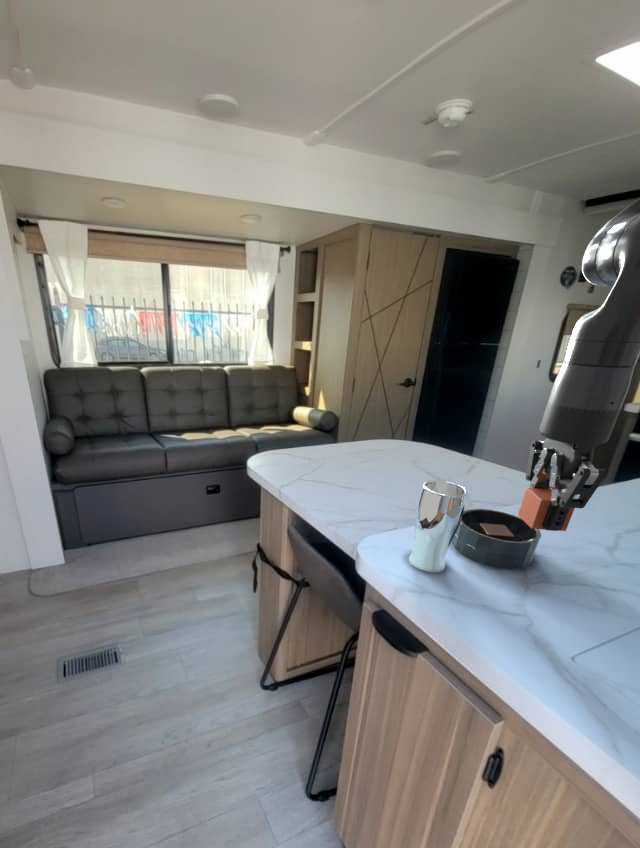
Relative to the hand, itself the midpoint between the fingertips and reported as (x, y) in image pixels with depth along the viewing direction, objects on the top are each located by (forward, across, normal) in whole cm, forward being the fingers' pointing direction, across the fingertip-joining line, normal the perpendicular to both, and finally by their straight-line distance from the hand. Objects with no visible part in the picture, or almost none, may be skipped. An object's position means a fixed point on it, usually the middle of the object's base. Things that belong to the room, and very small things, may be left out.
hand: (541, 520), depth 59 cm
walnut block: (+13, +13, -1) cm, 18 cm away
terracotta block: (0, 0, 0) cm, 0 cm away
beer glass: (+13, +6, +12) cm, 19 cm away
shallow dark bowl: (+13, +13, -1) cm, 18 cm away
